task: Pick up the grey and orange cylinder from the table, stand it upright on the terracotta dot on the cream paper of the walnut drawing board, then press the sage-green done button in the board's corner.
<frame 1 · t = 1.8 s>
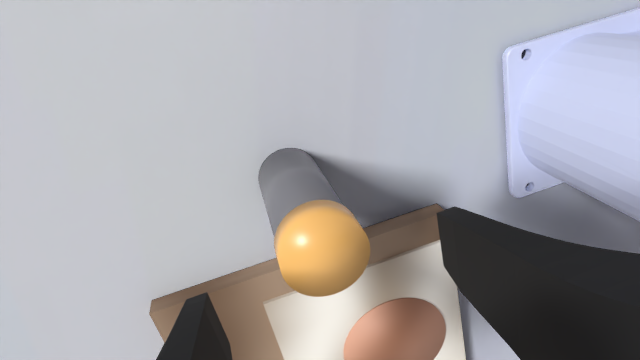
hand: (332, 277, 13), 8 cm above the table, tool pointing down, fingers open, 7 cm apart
grey and orange cylinder: (288, 176, 20), on the table
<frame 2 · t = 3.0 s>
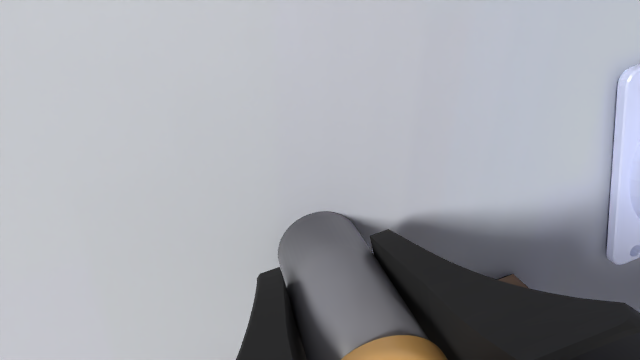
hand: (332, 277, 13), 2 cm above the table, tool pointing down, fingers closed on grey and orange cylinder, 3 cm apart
grey and orange cylinder: (319, 249, 15), on the table, touching gripper
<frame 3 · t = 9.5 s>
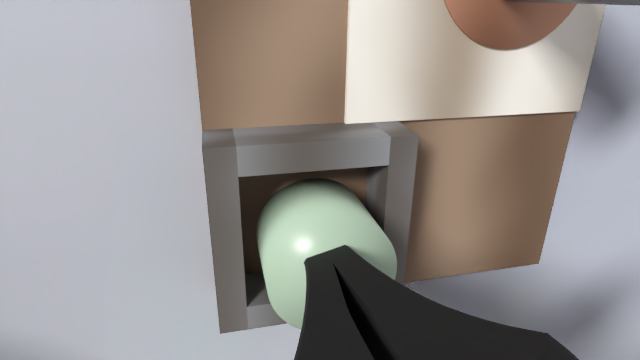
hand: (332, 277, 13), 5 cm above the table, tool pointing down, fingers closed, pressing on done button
done button: (321, 251, 14), point 4 cm above the table, slide at 0.2 cm, touching gripper
drawing board: (402, 47, 16), on the table
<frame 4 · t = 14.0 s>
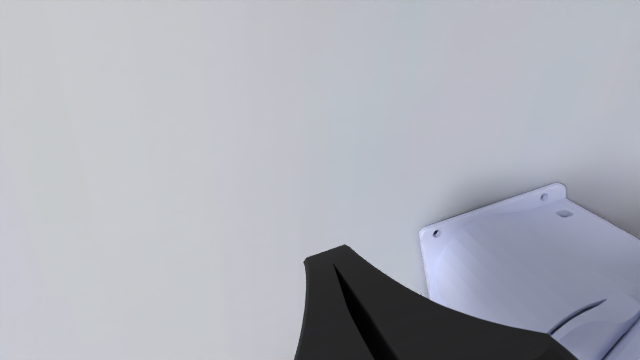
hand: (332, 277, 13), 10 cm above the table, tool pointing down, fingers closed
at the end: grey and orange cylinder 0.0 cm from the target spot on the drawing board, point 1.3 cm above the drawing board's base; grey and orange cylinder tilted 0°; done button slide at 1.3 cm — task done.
